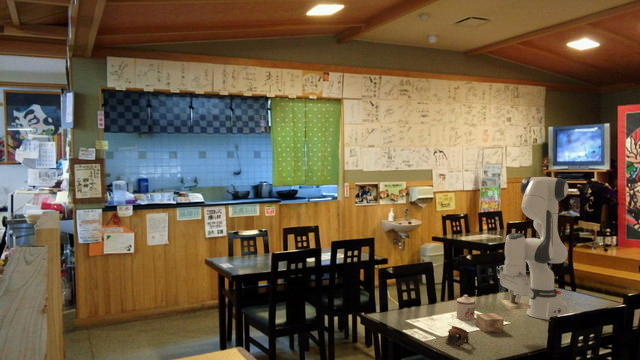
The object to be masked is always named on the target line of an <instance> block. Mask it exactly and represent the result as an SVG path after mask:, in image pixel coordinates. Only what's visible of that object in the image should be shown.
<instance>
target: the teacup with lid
mask: <svg viewBox="0 0 640 360" xmlns="http://www.w3.org/2000/svg"><path fill="white" fill-rule="evenodd" d="M476 308H477V305H476V301H475V300H474V299H473V298H471V297H469V295H468V294H463V296H461V297H458V298H457V299H456V318H457V319H458V320H461V321H470V322H471V321H474V320H475V312H476Z"/></svg>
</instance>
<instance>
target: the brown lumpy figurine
mask: <svg viewBox="0 0 640 360" xmlns="http://www.w3.org/2000/svg"><path fill="white" fill-rule="evenodd" d="M447 332H448V334H447V337H446V339H445V344H447V345H450V346H452V347H455V346H456V347H457V345H459V346H463V345H464V343H467V344H468V343H469V341H470V339H469V337H470V336H469V334H470V333H469V331H468V330H466V329H464V328H462V327H459V326H453V325H452V326H451V328H450V329H448V330H447Z"/></svg>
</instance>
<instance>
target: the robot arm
mask: <svg viewBox="0 0 640 360" xmlns="http://www.w3.org/2000/svg"><path fill="white" fill-rule="evenodd" d="M519 189H520V193H521V195H522V196H523V197H522V199H521V200H522V201H521V211H522V212H523V214H524V215H525V216H526V217H527V218H529V219H531V220H533V223H532V224H533V227H534V228H533V229H534V230H535V231H537V232H538V235H539V238H537V237H527V238H525V235H524V234H523V233H519V232H518V233H517V232H514V233H509V234H508V235H506V238H505V244H504V257H505V260H504V264H503V265H499V267H498V268H499V282H500V285H501V287H503V288H505V289H507V290H508V294H509V300H511V295H516V298H515V302H517V303H520V300H521V298H522V297H529V301H528V302H529V303H528V304H529V305H531V309H526V310H527V311H526V315H527V316H530V317H531V318H536V319H542V320H546V321H550V320H549V318H550V317H551V316H556V315H563V314H569V313H570V307H569V306H568V303H567V302H565V301H564V299H561V298H560V297H559V296H558V295H561V294H562V290H559V289H556V288H555V274H554V272H553V270H552V269H551V268H550V267H549V265H548V263H549V264H562V263H564V262H565V261H566V260H567V258H568V254H569V253H568V248H567V247H566V245H565V244H564V243H563V242H562V240H561V238H560V235H559V231H558V230H559V229H558V218H559V202H560V201H561V200H564V199H565V198H566V197H567V196H568V192H569V185H568V181H567V180H566V179H564V178H560V177H550V176H533V177H532V176H527V177H526V176H525V177H524V178H523V179H522V180H521V183H520V187H519ZM526 262H527V263H526ZM527 264H528V269H529V272H530V273H529V274H530V275H529V277H530V279H529V278H528V276H527V273H526V272H527V271H526V270H527Z"/></svg>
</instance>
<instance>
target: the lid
mask: <svg viewBox="0 0 640 360" xmlns="http://www.w3.org/2000/svg"><path fill="white" fill-rule="evenodd" d="M515 298H516V294H514V295H511V299H501V300H500V299H499V304H500V305H501V306H503V307H504V308H506V309H508V310H510V311H511V310H528V309H531V305H529V303H527V302H525V301H523V300H521V299H520V303H517V302H515Z"/></svg>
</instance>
